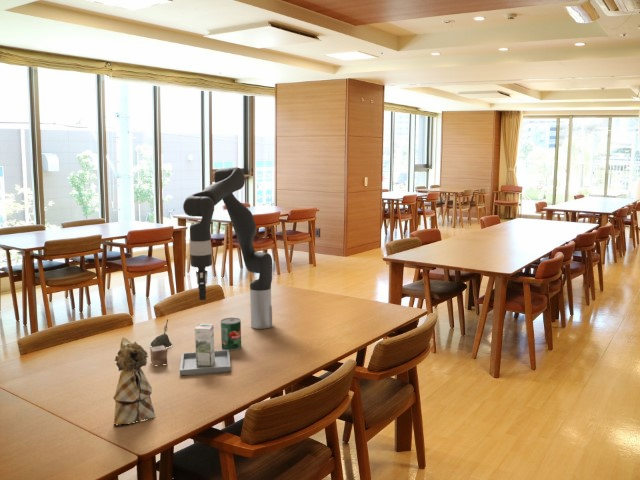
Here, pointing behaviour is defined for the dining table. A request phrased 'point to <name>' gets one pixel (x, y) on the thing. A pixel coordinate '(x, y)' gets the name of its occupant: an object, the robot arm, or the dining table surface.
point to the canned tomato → (231, 333)
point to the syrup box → (204, 344)
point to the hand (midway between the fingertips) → (202, 296)
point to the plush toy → (132, 385)
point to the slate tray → (218, 366)
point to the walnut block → (158, 355)
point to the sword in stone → (161, 339)
